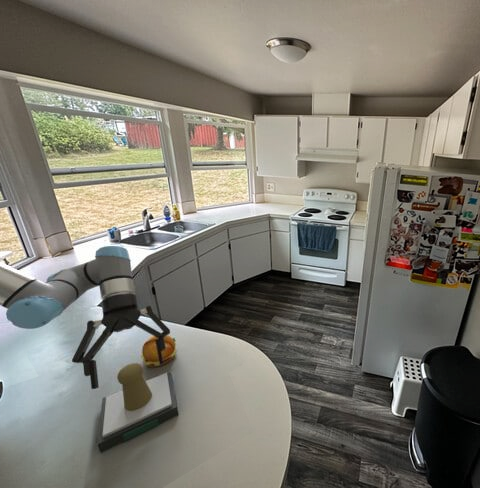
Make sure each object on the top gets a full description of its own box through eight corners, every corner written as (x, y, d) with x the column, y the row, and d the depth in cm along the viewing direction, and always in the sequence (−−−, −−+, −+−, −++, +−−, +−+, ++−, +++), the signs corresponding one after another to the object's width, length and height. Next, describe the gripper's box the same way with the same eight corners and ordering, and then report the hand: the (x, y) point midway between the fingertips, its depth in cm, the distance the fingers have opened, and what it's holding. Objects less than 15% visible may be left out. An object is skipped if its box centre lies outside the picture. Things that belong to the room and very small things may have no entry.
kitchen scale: (100, 455, 58) (95, 444, 56) (105, 405, 69) (101, 395, 67) (179, 416, 67) (176, 406, 65) (172, 378, 78) (170, 368, 76)
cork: (156, 397, 67) (148, 365, 64) (130, 415, 63) (120, 382, 59) (145, 386, 70) (137, 355, 67) (120, 402, 66) (109, 371, 62)
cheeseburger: (172, 341, 92) (170, 322, 87) (182, 363, 86) (180, 344, 81) (139, 355, 85) (135, 335, 80) (147, 379, 79) (143, 360, 74)
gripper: (170, 289, 80) (185, 356, 74) (62, 315, 66) (68, 399, 60) (169, 282, 74) (185, 353, 68) (50, 307, 60) (55, 400, 54)
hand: (130, 375), depth 64 cm, fingers open, 13 cm apart
